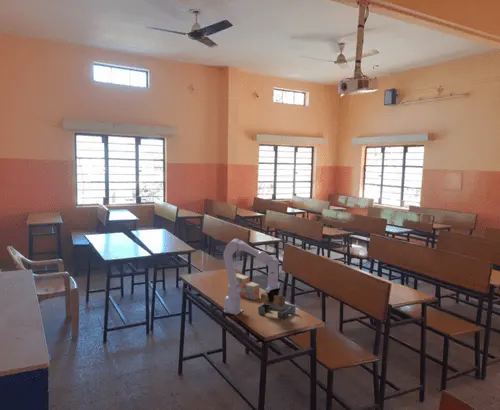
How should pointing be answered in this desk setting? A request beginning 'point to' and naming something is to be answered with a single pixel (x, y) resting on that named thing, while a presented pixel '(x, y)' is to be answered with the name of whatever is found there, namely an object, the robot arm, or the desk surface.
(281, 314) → the cup bracket right
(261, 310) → the cup bracket left
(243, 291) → the stack of blocks
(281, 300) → the rail
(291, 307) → the backboard
